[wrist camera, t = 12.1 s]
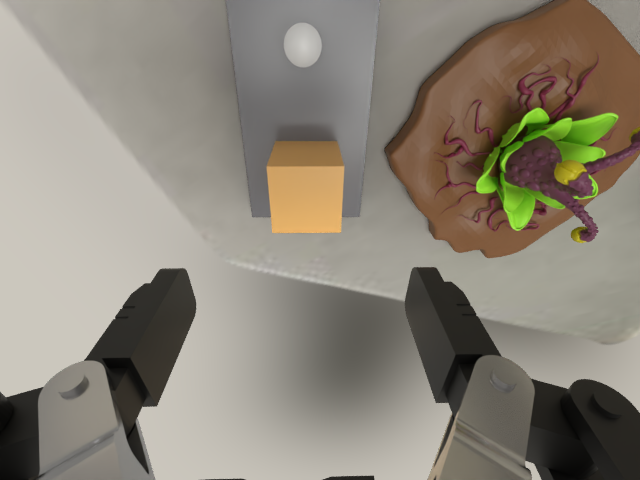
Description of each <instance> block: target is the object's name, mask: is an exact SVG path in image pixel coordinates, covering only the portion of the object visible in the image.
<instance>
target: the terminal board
mask: <svg viewBox="0 0 640 480" xmlns="http://www.w3.org/2000/svg"><path fill="white" fill-rule="evenodd" d="M226 7H227V15H228V23H229V31H230V39H231V48H232V56H233V64H234V72H235V80H236V89H237V97H238V105H239V113H240V121H241V129H242V138H243V146H244V154H245V162H246V170H247V178H248V187H249V195H250V203H251V211H252V217H271V211H270V199H269V188H268V177H267V164H268V161H269V158H270V155H271V152H272V150H273V147H274V144H275V141H337V142H338V145H339V149H340V152H341V156H342V160H343V163H344V183H343V202H342V217H360V207H361V197H362V186H363V176H364V165H365V155H366V144H367V134H368V123H369V113H370V102H371V92H372V81H373V71H374V60H375V50H376V39H377V29H378V18H379V8H380V0H226Z"/></svg>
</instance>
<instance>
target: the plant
mask: <svg viewBox="0 0 640 480" xmlns="http://www.w3.org/2000/svg"><path fill="white" fill-rule="evenodd" d="M385 153H386V155H387V157H388V160H389V164H390V167H391V169H392V171H393V172H394V174H395V175H396V176H397V178H398V179H399V180H400V181H401V182H402V183H403V184H404V185H405V186H406V189H407V191H408V194H409V196H410V198H411V199H412V201H413V202H414V204H415V205H416V207H417V208H418V209H419V210H420V211H421V212H422V213H423V214H424V215H425V216H426V217H427V218H428V220H429V231H430V233H431V234H432V236H433V237H434V239H436V240H446V241H448V243H449V244H450V246H451V247H452V248H453V250H454V251H456V252H458V253H462V252H468V251H472V250H479V249H480V251H481V252H482V253H483V254H484V256H485V257H487V258H495V257H502V256H506V255H510V254H513V253H516V252H518V251H521V250H523V249H524V248H526V247H527V246H529V245H530V244H532V243H533V242H535V241H536V240H538V239H539V238H540V237H542V236H543V235H545V234H546V233H548V232H549V231H551V230H552V229H554V228H555V227H557V226H559V225H560V224H562V223H564V222H565V221H567V220H568V219H569V218H571V217H572V216H574V215H575V216H576V217H578V218H579V219H580V220H581V221H582V223H583V224H585V226H586V227H578V228H576V229H574V230H572V232H571V238H572V239H573V240H574V241H576V242H579V243H584V242H590V241H592V240H593V239H594V238H595V236H596V233H598V230H596V229H598V227H596V224H595V223H593V221H592V220H593V218H592V217H589V215H588V212H586V211H585V210H584V207H585V206H586V205H587V204H588V203H589V202H590V201H591V200H593V199H594V198H595V197H596V196H598V195H599V194H601V193H603V192H605V191H607V190H608V189H609V188H611V187H612V186H613V185H614V184H615V183H616V181H617V179H618V178H619V177H620V176H621V175H622V174H623V173H624V172H625V171H626V170H627V169H628V168H629V167H630V166H631V164H632V163H633V162H634V161H635V160H636V159H637V157H638V155H639V154H640V55H639V54H638V53H637V52H636V50H635V49H634V48H633V47H632V46H631V45H630V43H629V42H628V41H627V40H626V39H625V37H624V36H623V35H622V34H621V33H620V31H619V30H618V29H617V28H616V27H615V26H614V25H613V24H612V22H611V21H610V20H609V19H608V18H607V16H606V15H604V14H603V13H602V12H601V11H600V10H599V9H597V8H596V7H595V6H593V5H592V4H591V3H589V2H588V1H587V0H554V1H552V2H550V3H548V4H546V5H544V6H542V7H540V8H538V9H537V10H535V11H533V12H531V13H529V14H527V15H525V16H523V17H521V18H518V19H516V20H513V21H508V22H502V23H498V24H495V25H493V26H491V27H489V28H487V29H486V30H484V31H482V32H481V33H479V34H478V35H476V36H474V37H473V38H471V39H470V40H469V41H468V42H466V43H465V44H464V45H463V46H462V47H461V48H460V49H459V50H458V51H457V52H456V53H455V54H454V55H453V56H452V57H451V58H450V59H449V60H448V61H447V62H446V63H444V64H443V65H442V66H441V67H440V68H439V69H438V70H437V71H436V72H435V73H434V74H433V75H431V76H430V77H429V78H428V79H427V80H426V81H425V82H424V84H423V85H422V86H421V88H420V91H419V94H418V97H417V101H416V104H415V107H414V110H413V112H412V114H411V116H410V118H409V119H408V121H407V122H406V124H405V125H404V126H403V128H402V129H401V130H400V132H399V133H398V134H397V136H396V137H395V138H394V139H393V140H392V141H391V142H390V144H389V145H388V146H387V147H386V148H385Z"/></svg>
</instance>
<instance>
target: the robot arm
mask: <svg viewBox="0 0 640 480" xmlns="http://www.w3.org/2000/svg"><path fill="white" fill-rule="evenodd" d="M405 311H406V316H407V319H408V322H409V325H410V327H411V331H412V334H413V337H414V339H415V342H416V345H417V348H418V351H419V354H420V357H421V360H422V363H423V366H424V369H425V372H426V375H427V378H428V381H429V384H430V387H431V390H432V393H433V396H434V399H435V401H436V403H449V405H450V408H451V411H452V414H451V416H450V419H449V422H448V424H447V427H446V430H445V433H444V435H443V438H442V441H441V444H440V447H439V449H438V452H437V455H436V458H435V461H434V463H433V466H432V469H431V472H430V474H429V477H428V479H427V480H532V475H531V472H530V470H529V469H528V468H526V467H525V461H528V462H531V463H534V464H535V466H536V468H537V471H538V473H539V475H540V477H541V479H542V480H640V413H639V412H638V410H637V409H636V408H635V407H634V406H633V405H632V403H630V401H628V400H627V399H626V398H625V397H624V396H623V395H621V394H620V393H619V392H617V391H616V390H614V389H612V388H610V387H609V386H607V385H604V384H602V383H600V382H597V381H593V380H588V379H581V380H577V381H576V382H574V383H573V384H572V385H571V386H570V388H569V389H566V388H563V387H559V386H555V385H552V384H548V383H544V382H540V381H537V380H534V379H531V378H530V377H529V376H528V375H527V374H526V372H525V371H524V370H523V369H522V368H521V367H520V366H518V365H517V364H515V363H514V362H512V361H511V360H509V359H506V358H504V357H502V356H501V355H500V353H499V351H498V350H497V348H496V346H495V345H494V343H493V341H492V340H491V338H490V336H489V334H488V333H487V331H486V330H485V328H484V326H483V324H482V323H481V321H480V319H479V318H478V316H476V313H475V311H474V309H473V308H472V306H470V302H469V301H468V299H467V297H466V296H465V294H464V292H463V291H462V290H460V289H459V288H458V287H457V286H456V285H455V284H453V283H452V282H444V281H443V279H442V277H441V275H440V273H439V271H438V270H437V268H435V267H414V268H413V269H412V271H411V275H410V280H409V284H408V289H407V293H406V298H405ZM195 313H196V300H195V296H194V293H193V290H192V286H191V283H190V280H189V276H188V273H187V271H186V270H185V269H183V268H180V269H160V270H159V271H158V273H157V274H156V276H155V277H154V279H153V280H152V282H151V283H146V284H144V285H143V286H141V287H140V288H139V289H137V290H136V291H135V292H133V293H132V294H131V295H130V297H129V298H128V300H127V301H126V302H125V304H124V305H123V308H122V309H120V311H119V312H118V314H117V315H116V317H115V319H114V320H113V321H112V322H111V324H110V325H109V327H108V328H107V329H106V331H105V332H104V334H103V335H102V336H101V338H100V339H99V341H98V342H97V343H96V345H95V346H94V348H93V349H92V351H91V352H90V354H89V355H88V356H87V358H86V359H85V360H84V361H82V362H79V363H75V364H73V365H71V366H69V367H67V368H65V369H63V370H62V371H60V372H59V373H57V374H56V375H55V376H53V378H51V379H50V380H49V381H48V382H47V383H46V385H45V386H44V387H42V388H38V389H34V390H31V391H27V392H24V393H20V394H17V395H13V396H10V397H5V396H4V395H3V394H2V393H1V392H0V480H155V477H154V474H153V470H152V467H151V463H150V459H149V456H148V453H147V449H146V445H145V442H144V438H143V435H142V431H141V428H140V425H139V421H138V419H137V417H138V415H139V412H140V410H141V408H142V407H147V406H148V407H150V406H157V405H158V402H159V400H160V398H161V395H162V393H163V391H164V388H165V386H166V383H167V381H168V378H169V376H170V374H171V372H172V369H173V367H174V364H175V362H176V359H177V357H178V355H179V353H180V350H181V348H182V345H183V343H184V341H185V338H186V336H187V334H188V331H189V329H190V326H191V324H192V322H193V319H194V317H195ZM209 480H245V479H209ZM323 480H374V476H341V477H329V478H326V479H323Z"/></svg>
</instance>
